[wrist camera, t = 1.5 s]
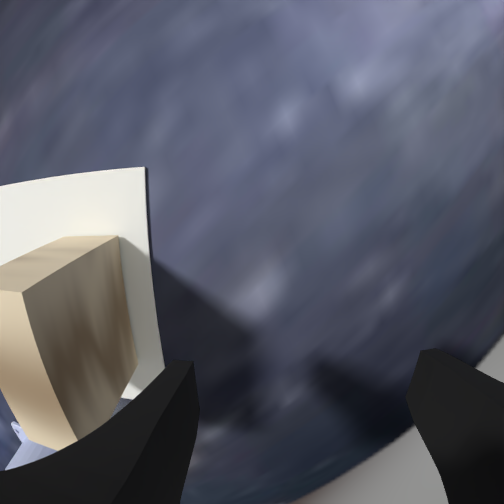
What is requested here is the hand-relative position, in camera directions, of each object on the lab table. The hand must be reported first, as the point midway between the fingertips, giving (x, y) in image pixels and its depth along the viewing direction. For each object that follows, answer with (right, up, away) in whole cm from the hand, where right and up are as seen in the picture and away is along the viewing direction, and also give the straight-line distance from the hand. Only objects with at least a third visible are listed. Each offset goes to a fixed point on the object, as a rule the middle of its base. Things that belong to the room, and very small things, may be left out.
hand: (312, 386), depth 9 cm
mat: (-13, +2, +6) cm, 14 cm away
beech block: (-10, +1, +6) cm, 11 cm away
